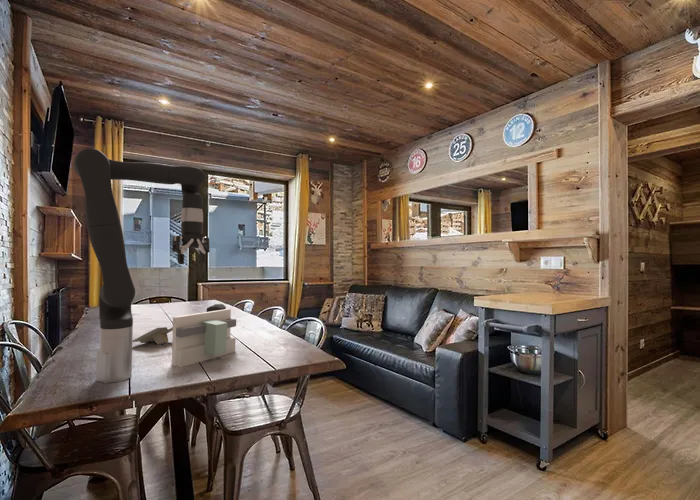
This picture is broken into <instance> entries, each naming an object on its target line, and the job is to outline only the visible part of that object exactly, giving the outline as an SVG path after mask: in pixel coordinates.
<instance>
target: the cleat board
mask: <svg viewBox="0 0 700 500" xmlns="http://www.w3.org/2000/svg"><path fill="white" fill-rule="evenodd" d="M231 313H232V309H231V308H226V309H224V310H217V311H210V312H207V311H206V312H204V311H203V312H198V313H191V314H185V315H178V316H173V317H172V327H173V331H172V337H171V338H172V340H171V341H172V344H171V366H175V367H177V368H183V367H186V366H190V365H194V364H198V363H201V362H204V361H208V360H212V359H215V358H219V357H222V356H225V355H226V356H227V355H229V354H232V353H236V337H233V336H231V328H235V327H237V318H231V317H232V314H231ZM212 319H213V320H217V321H222V322H226V323H228V325H227V344H226V353H224V354H220V355H216V356H213V355H210V354H206V353H204V351H205V331H206V325H201V321H207V320H212Z"/></svg>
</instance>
